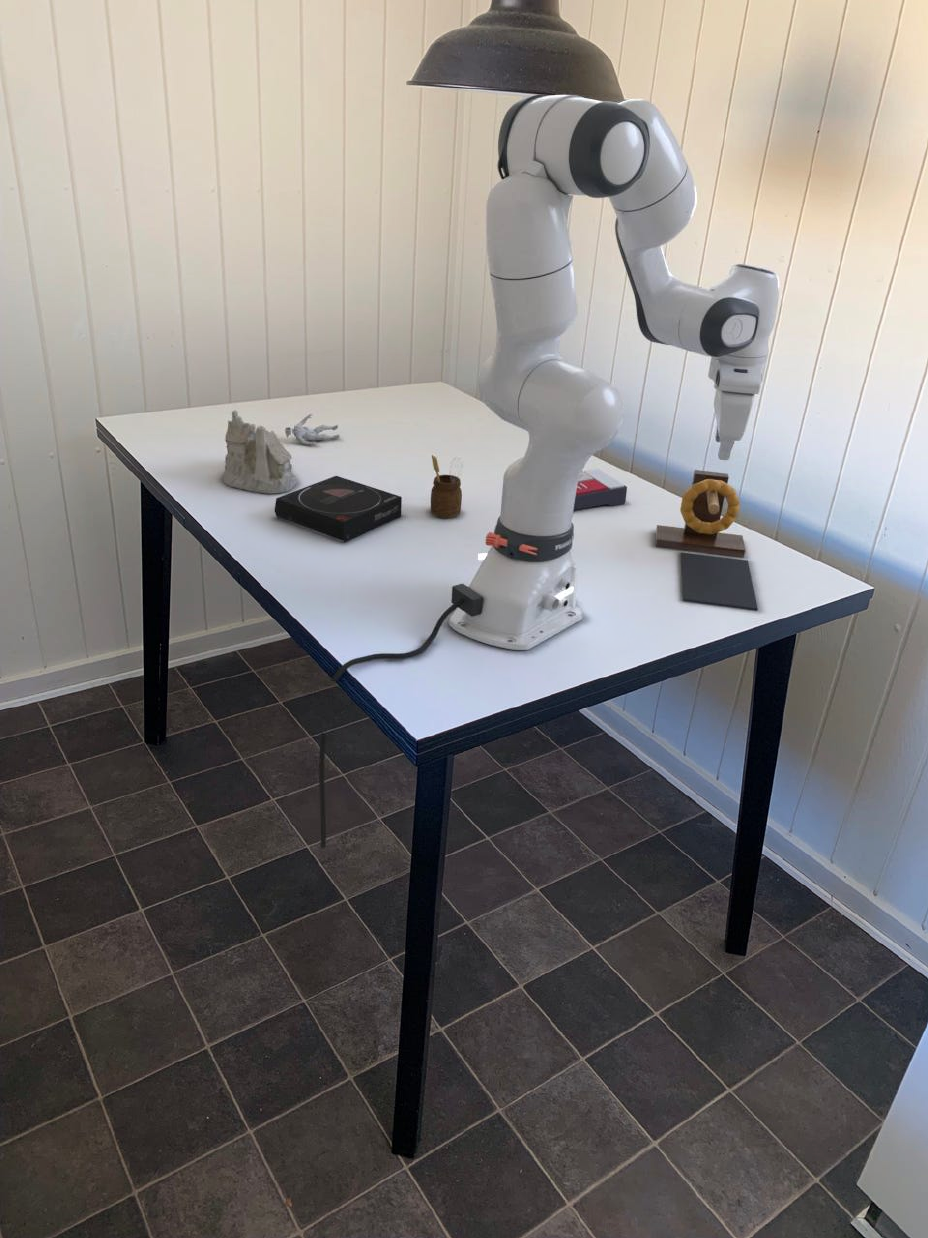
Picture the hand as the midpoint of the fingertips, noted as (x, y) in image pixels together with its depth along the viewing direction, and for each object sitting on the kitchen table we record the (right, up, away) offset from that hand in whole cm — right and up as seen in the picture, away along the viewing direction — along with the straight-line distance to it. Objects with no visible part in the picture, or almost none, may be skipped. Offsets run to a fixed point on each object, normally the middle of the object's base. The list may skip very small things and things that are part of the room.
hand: (721, 449), depth 164 cm
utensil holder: (-48, -9, +21) cm, 53 cm away
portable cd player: (-68, -10, +17) cm, 70 cm away
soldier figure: (-79, +11, +54) cm, 96 cm away
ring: (-1, -9, +5) cm, 11 cm away
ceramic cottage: (-85, 0, +32) cm, 91 cm away
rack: (-1, -17, +11) cm, 20 cm away
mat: (0, -22, +2) cm, 22 cm away
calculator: (-20, -5, +32) cm, 38 cm away
